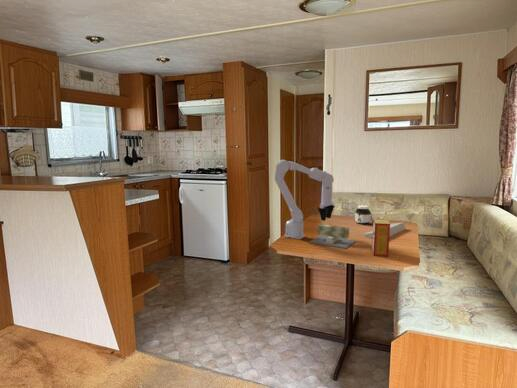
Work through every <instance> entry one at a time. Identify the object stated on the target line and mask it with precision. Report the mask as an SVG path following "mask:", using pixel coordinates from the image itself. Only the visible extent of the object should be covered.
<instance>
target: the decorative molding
mask: <svg viewBox="0 0 517 388" xmlns="http://www.w3.org/2000/svg"><path fill="white" fill-rule="evenodd" d="M405 230H406V226H405V222H403V221H402V222H395V223H390V234H389V238H390V237H392V236H394V234H395V235H396V233H397V234H399V233H401V232H403V231H405ZM398 232H399V233H398ZM363 235H364V238H367V239H372V238H373V230H371V231H368V232H365V233H363Z"/></svg>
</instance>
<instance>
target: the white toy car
mask: <svg viewBox="0 0 517 388" xmlns="http://www.w3.org/2000/svg"><path fill="white" fill-rule="evenodd" d="M373 219H376V218H375V216H374V213H372V212H371V211H370V206H368V205H365V204H364V205H361V204H360V205H358V206H357V209H355V213H354V220H355V223H356V224H358V225H361V226H362V225H363V226H365V225H366V226H367V225H369V224H370V223H372V224H373Z"/></svg>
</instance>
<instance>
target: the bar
mask: <svg viewBox="0 0 517 388" xmlns="http://www.w3.org/2000/svg"><path fill="white" fill-rule="evenodd" d="M317 235H318V236H321V235H323V236H329V237H330V236H332V237H338V238H343V239H348V238H349V236H350V227H344V226H337V225H330V224H323V223H321V224H318V225H317Z"/></svg>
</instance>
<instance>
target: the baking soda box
mask: <svg viewBox="0 0 517 388" xmlns="http://www.w3.org/2000/svg"><path fill="white" fill-rule="evenodd" d="M390 224H391V223H390V221H389V220H388V219H378V218H377V219H376V218H375V219H373V223H372V231H373V238H371V239H372V240H371V241H372V242H371V243H372V244H371V252H372V255H373V257H389V251H390V250H389V247H390V245H389V244H390V237H389V234H390Z"/></svg>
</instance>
